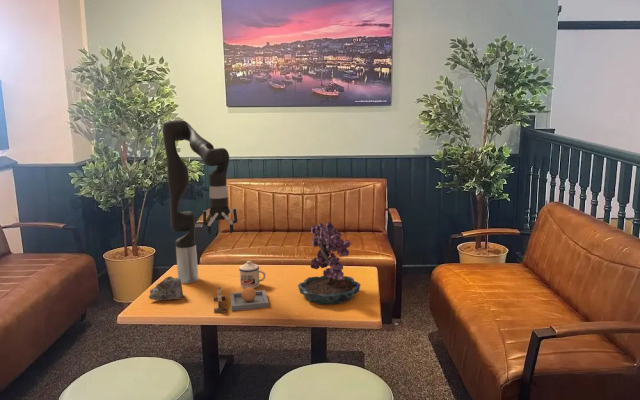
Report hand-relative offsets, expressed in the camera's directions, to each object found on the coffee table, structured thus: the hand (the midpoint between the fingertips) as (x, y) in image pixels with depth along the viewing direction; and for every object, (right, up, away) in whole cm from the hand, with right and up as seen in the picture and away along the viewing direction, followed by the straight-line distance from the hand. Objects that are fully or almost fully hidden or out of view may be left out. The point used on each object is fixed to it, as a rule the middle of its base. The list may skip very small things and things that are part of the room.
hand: (221, 233), depth 232 cm
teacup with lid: (+12, -25, +17) cm, 33 cm away
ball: (+12, -25, -4) cm, 28 cm away
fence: (+1, -30, -5) cm, 30 cm away
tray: (+12, -29, -3) cm, 32 cm away
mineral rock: (-24, -29, +4) cm, 37 cm away
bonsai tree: (+46, -27, +5) cm, 54 cm away
